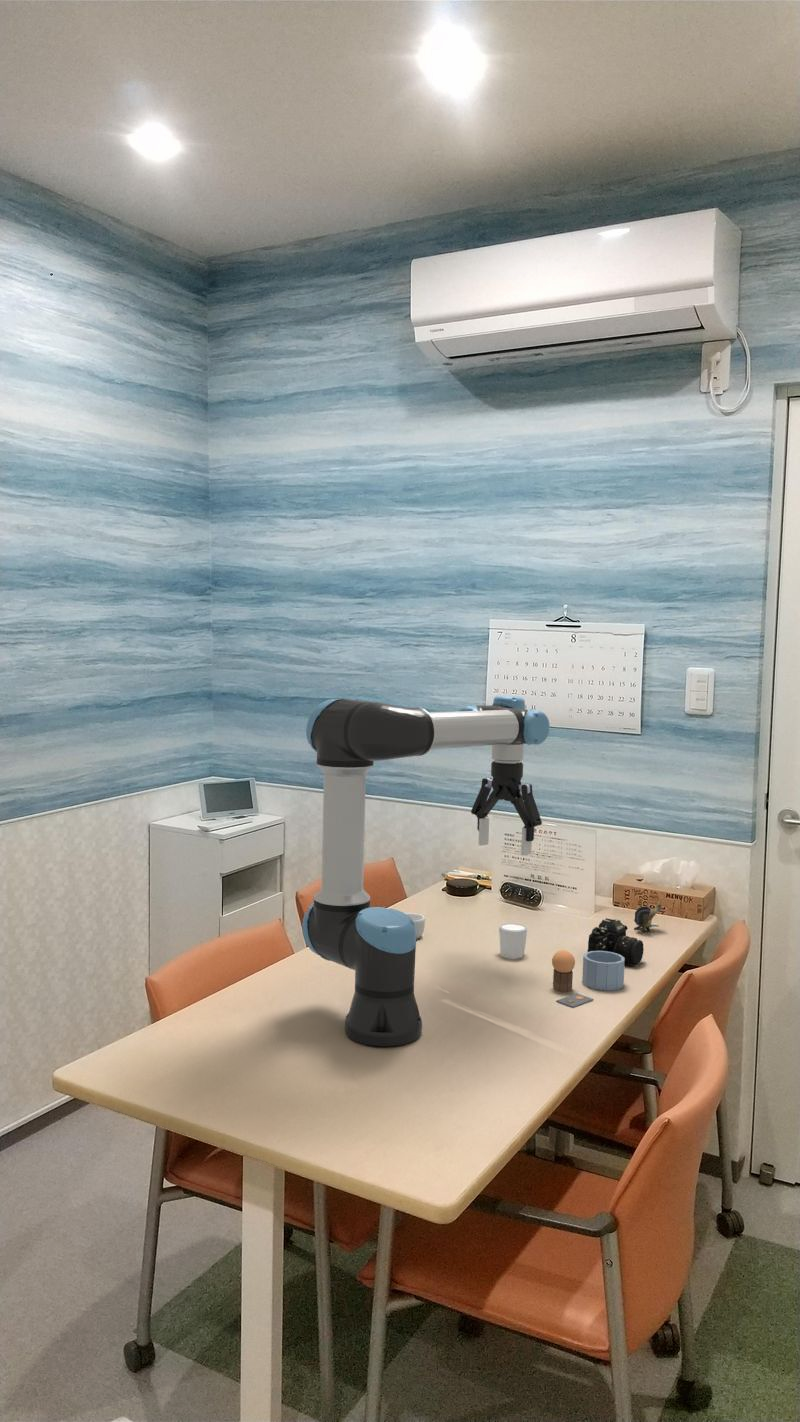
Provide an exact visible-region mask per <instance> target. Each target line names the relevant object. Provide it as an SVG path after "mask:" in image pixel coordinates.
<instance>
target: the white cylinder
mask: <svg viewBox="0 0 800 1422" xmlns="http://www.w3.org/2000/svg"><path fill="white" fill-rule="evenodd" d="M498 930H499V931H498V933H499V951H500V956H501V957H503V958H506V959H510V960H511V959H512V960H515V959H517V960H518V959H521V958H523V957H524V956H525V949H526V942H527V936H528V935H527V934H528V927H527V926H526V925H523V924H518V923H504V924H500V925H499V926H498Z"/></svg>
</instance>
